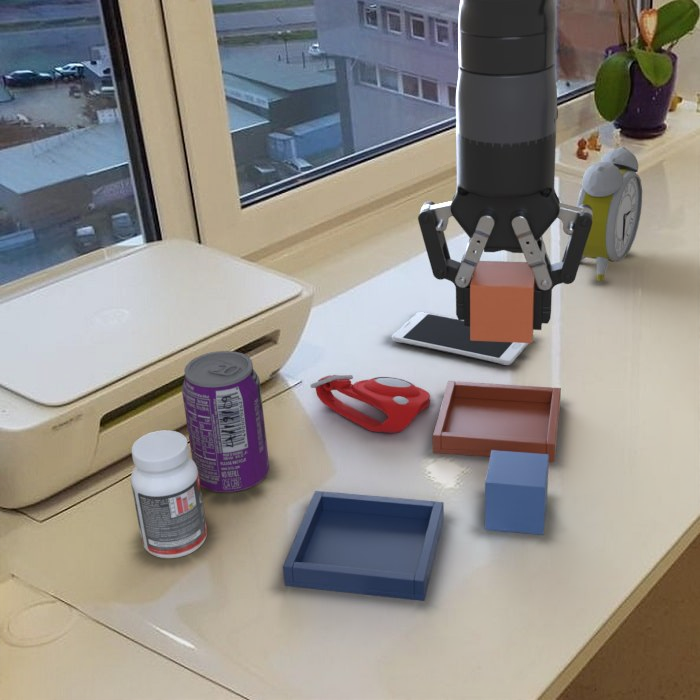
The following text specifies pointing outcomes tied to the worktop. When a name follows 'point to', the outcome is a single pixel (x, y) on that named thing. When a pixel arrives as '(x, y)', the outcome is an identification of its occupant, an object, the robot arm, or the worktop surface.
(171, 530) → the pill bottle
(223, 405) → the beverage can
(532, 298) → the terracotta block
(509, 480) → the blue block
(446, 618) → the worktop surface
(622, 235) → the alarm clock
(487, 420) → the terracotta tray
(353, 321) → the worktop surface
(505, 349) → the smartphone
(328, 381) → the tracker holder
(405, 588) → the blue tray
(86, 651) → the worktop surface
